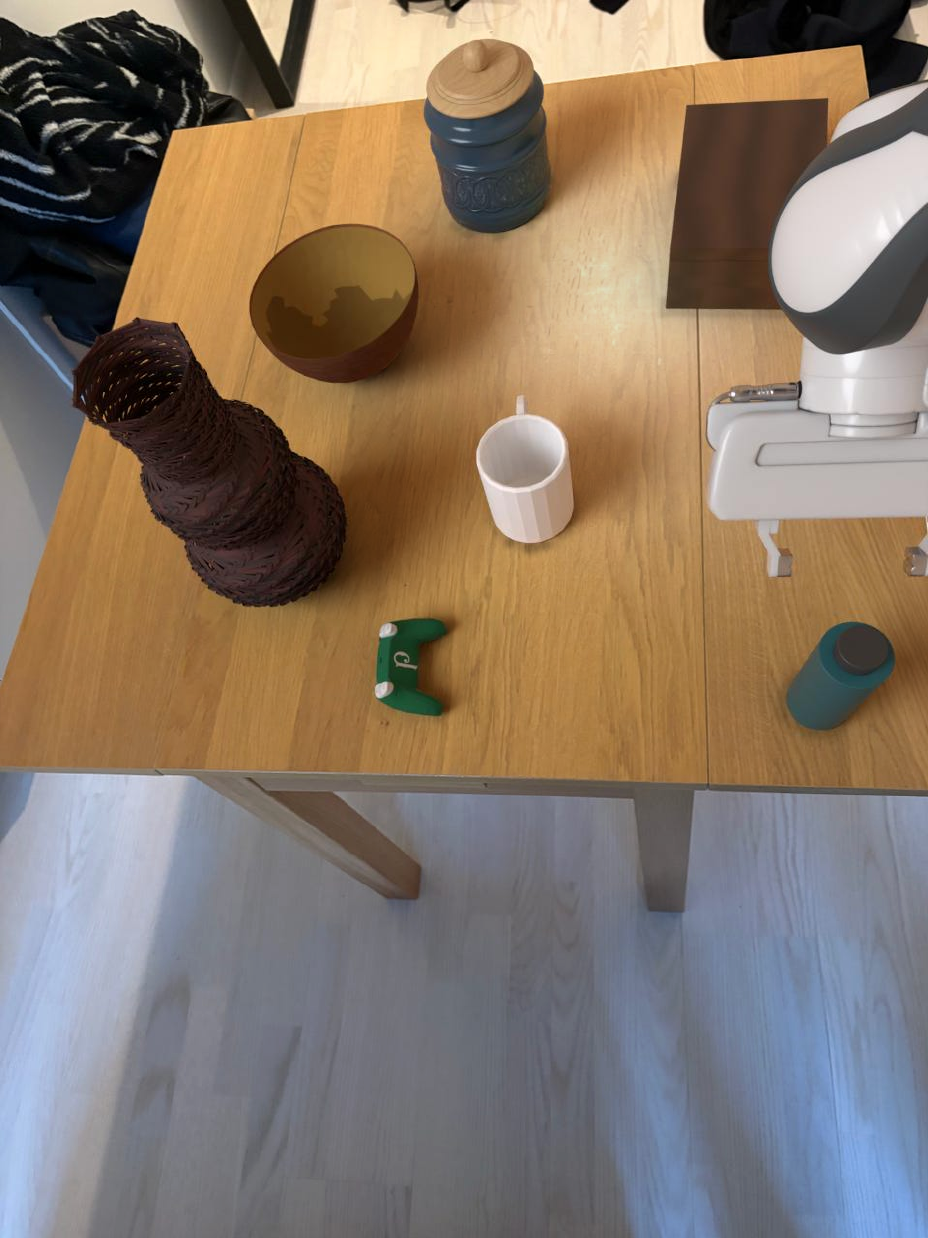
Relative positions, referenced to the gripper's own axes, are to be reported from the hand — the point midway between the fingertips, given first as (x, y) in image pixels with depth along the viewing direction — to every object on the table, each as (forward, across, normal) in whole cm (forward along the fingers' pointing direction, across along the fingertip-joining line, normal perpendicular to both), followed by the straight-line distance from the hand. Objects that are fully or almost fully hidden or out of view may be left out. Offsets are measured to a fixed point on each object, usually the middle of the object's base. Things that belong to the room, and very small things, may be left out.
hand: (846, 574), depth 58 cm
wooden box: (-24, -4, +41) cm, 48 cm away
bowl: (-15, -45, +32) cm, 57 cm away
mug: (-2, -25, +19) cm, 31 cm away
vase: (+3, -49, +14) cm, 51 cm away
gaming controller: (+12, -35, +6) cm, 37 cm away
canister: (-31, -31, +48) cm, 65 cm away
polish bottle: (+13, 0, +4) cm, 13 cm away
